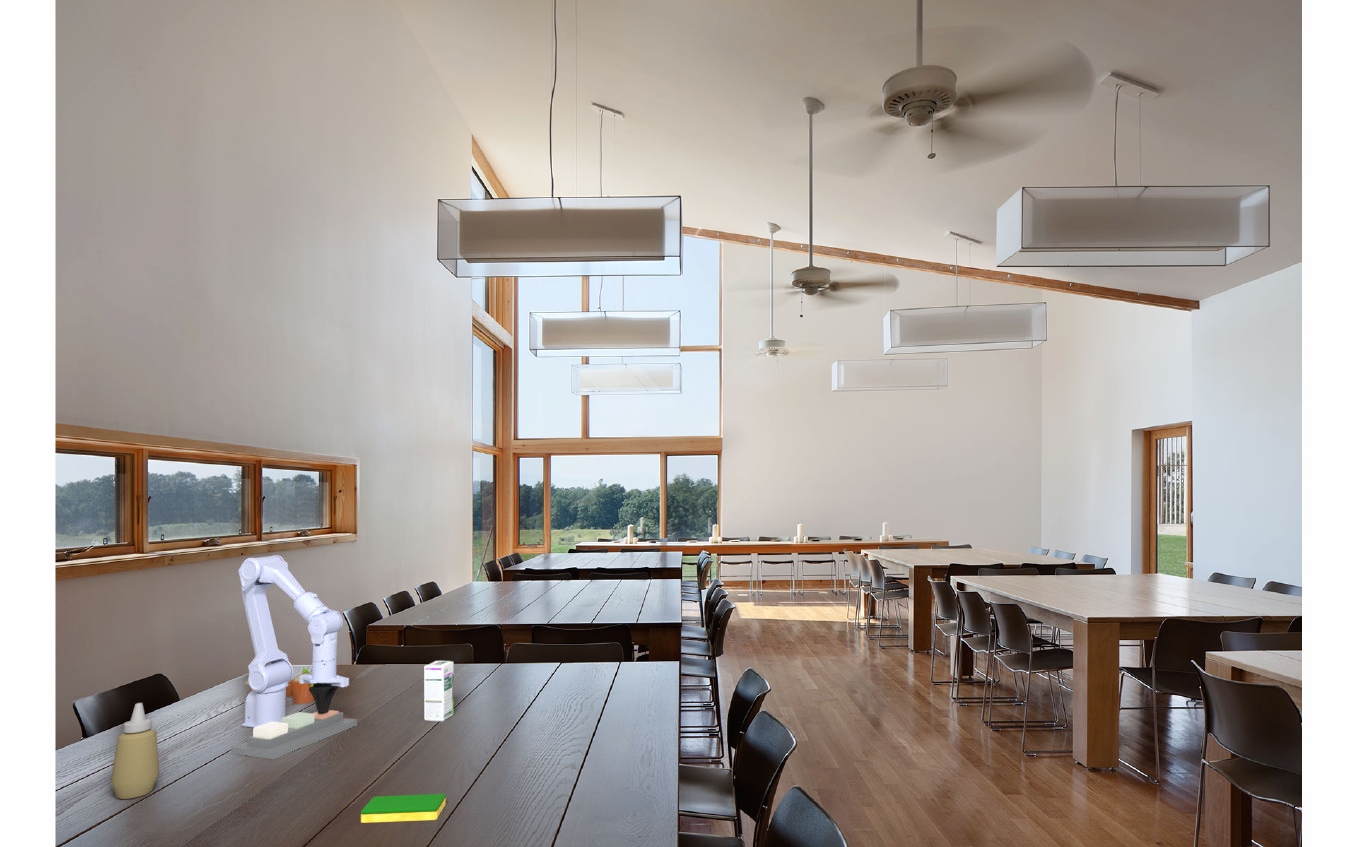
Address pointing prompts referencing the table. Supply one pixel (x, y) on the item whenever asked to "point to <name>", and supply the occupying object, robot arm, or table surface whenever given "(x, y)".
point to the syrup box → (438, 690)
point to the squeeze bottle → (135, 757)
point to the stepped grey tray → (294, 738)
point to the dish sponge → (403, 808)
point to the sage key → (298, 720)
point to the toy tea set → (298, 689)
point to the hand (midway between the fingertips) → (323, 713)
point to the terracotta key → (326, 715)
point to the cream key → (270, 730)
